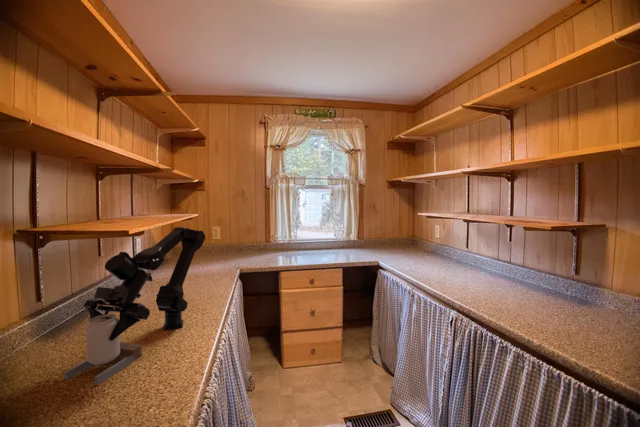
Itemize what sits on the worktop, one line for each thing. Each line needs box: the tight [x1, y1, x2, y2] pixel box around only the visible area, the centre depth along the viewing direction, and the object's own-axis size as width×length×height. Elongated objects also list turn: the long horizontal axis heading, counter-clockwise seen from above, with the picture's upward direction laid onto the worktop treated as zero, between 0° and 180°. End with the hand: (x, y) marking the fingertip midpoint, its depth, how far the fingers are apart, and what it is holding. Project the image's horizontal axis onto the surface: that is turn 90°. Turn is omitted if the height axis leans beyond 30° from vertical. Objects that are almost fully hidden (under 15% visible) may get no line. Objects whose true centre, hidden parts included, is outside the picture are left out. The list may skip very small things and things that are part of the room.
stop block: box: [114, 341, 143, 362], centre depth 87 cm, size 3×11×4 cm, turn 78°
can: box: [85, 313, 121, 366], centre depth 81 cm, size 8×8×12 cm
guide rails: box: [63, 355, 135, 386], centre depth 80 cm, size 11×11×2 cm
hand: (98, 338), depth 80 cm, fingers closed on can, 7 cm apart
